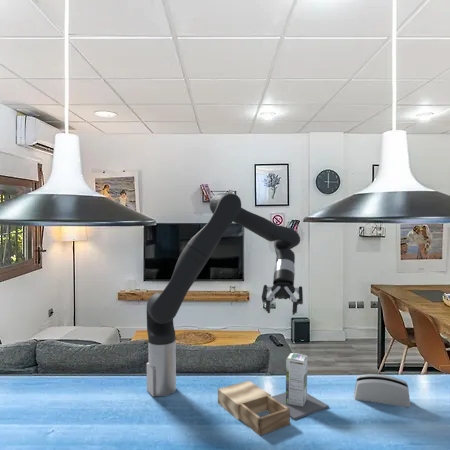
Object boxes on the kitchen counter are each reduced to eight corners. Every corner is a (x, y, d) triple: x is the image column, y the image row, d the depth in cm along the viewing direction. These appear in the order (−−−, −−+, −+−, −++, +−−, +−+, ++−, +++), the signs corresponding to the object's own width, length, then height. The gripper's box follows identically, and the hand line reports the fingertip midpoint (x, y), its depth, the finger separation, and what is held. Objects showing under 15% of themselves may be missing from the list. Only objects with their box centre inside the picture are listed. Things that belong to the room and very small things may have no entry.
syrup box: (289, 396, 124) (289, 352, 124) (307, 399, 122) (307, 354, 122) (285, 404, 119) (285, 358, 119) (304, 407, 117) (304, 360, 116)
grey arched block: (408, 400, 122) (410, 375, 119) (410, 411, 118) (412, 386, 115) (354, 392, 128) (354, 368, 125) (354, 403, 124) (353, 378, 120)
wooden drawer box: (291, 424, 109) (291, 408, 109) (257, 436, 103) (257, 420, 102) (249, 393, 127) (248, 380, 127) (217, 402, 121) (217, 388, 121)
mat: (294, 420, 111) (294, 418, 111) (265, 400, 123) (265, 398, 123) (328, 407, 118) (328, 405, 118) (298, 390, 130) (298, 388, 130)
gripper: (264, 267, 140) (259, 305, 129) (303, 268, 136) (301, 307, 125) (266, 279, 145) (261, 317, 134) (304, 281, 141) (302, 319, 130)
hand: (281, 312), depth 130 cm, fingers open, 8 cm apart
